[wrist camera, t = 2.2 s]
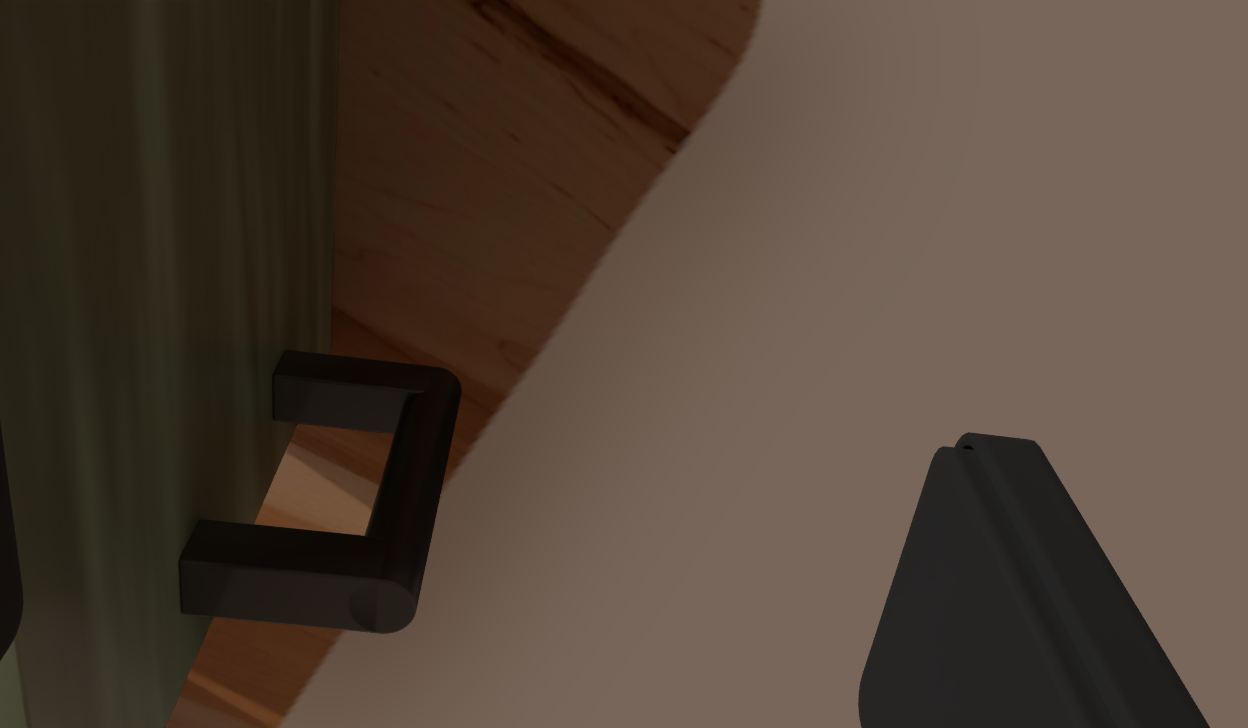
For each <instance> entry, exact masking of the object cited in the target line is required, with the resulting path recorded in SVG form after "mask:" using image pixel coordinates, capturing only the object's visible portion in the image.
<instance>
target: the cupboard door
mask: <svg viewBox="0 0 1248 728" xmlns="http://www.w3.org/2000/svg"><path fill="white" fill-rule="evenodd" d="M338 26H339V0H0V422H1V429H2V437H3V444H4V452H5V460H6V467H7V475H8V482H9V490H10V497H11V505H12V512H13V520H14V527H15V535H16V543H17V550H18V558H19V565H20V573H21V580H22V588H23V600H24V604H23V613H22V618H21V622H20V626H19V629H18V631H17V634H16V636H15V638H14V640H13V642H12V644H11V645H10V647H9V649H8V650H7V652H6V653H5V655H4V656H3V658H2V660H1V661H0V728H165V727H166V725H167V723H168V720H169V718H170V716H171V713H172V711H173V709H174V706H175V704H176V702H177V700H178V697H179V695H180V693H181V690H182V688H183V686H184V683H185V681H186V679H187V677H188V674H189V672H190V670H191V667H192V665H193V663H194V660H195V658H196V656H197V654H198V651H199V649H200V647H201V644H202V642H203V640H204V637H205V635H206V633H207V630H208V628H209V626H210V624H211V621H212V619H213V617H215V618H225V619H236V620H246V621H256V622H267V623H277V624H287V625H298V626H308V627H319V628H329V629H339V630H350V631H360V632H371V633H379V634H388V633H393V632H397V631H399V630H402V629H403V628H405V627H406V626H407V625H408V624H409V623H410V622H411V621H412V620H413V618H414V616H415V613H416V609H417V604H418V599H419V594H420V590H421V585H422V580H423V575H424V570H425V566H426V561H427V556H428V552H429V547H430V542H431V537H432V532H433V528H434V523H435V518H436V513H437V509H438V504H439V499H440V494H441V490H442V485H443V480H444V475H445V470H446V466H447V461H448V456H449V451H450V447H451V442H452V437H453V432H454V427H455V423H456V418H457V413H458V408H459V404H460V399H461V394H462V389H461V384H460V382H459V380H458V379H457V377H456V376H455V375H454V374H453V373H452V372H450V371H449V370H447V369H444V368H441V367H434V366H425V365H416V364H407V363H399V362H390V361H381V360H373V359H364V358H356V357H347V356H338V355H330V354H328V352H329V350H330V347H331V309H332V268H333V228H334V188H335V147H336V107H337V67H338ZM297 423H298V424H307V425H316V426H325V427H334V428H343V429H352V430H361V431H370V432H379V433H388V434H394V437H393V441H392V444H391V447H390V451H389V454H388V458H387V461H386V465H385V468H384V471H383V475H382V478H381V482H380V485H379V489H378V492H377V495H376V499H375V502H374V506H373V509H372V513H371V516H370V519H369V523H368V526H367V530H366V533H365V536H361V535H351V534H342V533H332V532H322V531H313V530H303V529H293V528H283V527H274V526H264V525H254V522H255V520H256V518H257V515H258V513H259V511H260V508H261V506H262V504H263V502H264V499H265V497H266V495H267V492H268V490H269V488H270V485H271V483H272V481H273V479H274V476H275V474H276V472H277V469H278V467H279V465H280V462H281V460H282V458H283V456H284V453H285V451H286V449H287V446H288V444H289V442H290V439H291V437H292V435H293V433H294V430H295V428H296V426H297Z"/></svg>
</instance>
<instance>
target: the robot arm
mask: <svg viewBox="0 0 1248 728" xmlns="http://www.w3.org/2000/svg"><path fill="white" fill-rule="evenodd" d="M23 604H24V600H23V588H22V580H21V573H20V565H19V558H18V550H17V543H16V535H15V527H14V520H13V512H12V505H11V497H10V490H9V482H8V475H7V467H6V460H5V452H4V444H3V437H2V429H1V422H0V661H1V660H2V658H3V656H4V655H5V653H6V652H7V650H8V649H9V647H10V645H11V644H12V642H13V640H14V638H15V636H16V634H17V631H18V629H19V626H20V622H21V618H22V613H23ZM858 705H859V717H860V722H861V727H862V728H1210V727H1209V725H1208V723H1207V722H1206V720H1205V718H1204V717H1203V715H1202V714H1201V712H1200V710H1199V709H1198V707H1197V705H1196V704H1195V702H1194V701H1193V699H1192V697H1191V695H1190V694H1189V692H1188V690H1187V689H1186V687H1185V685H1184V684H1183V682H1182V681H1181V679H1180V677H1179V676H1178V674H1177V672H1176V671H1175V669H1174V667H1173V666H1172V664H1171V662H1170V661H1169V659H1168V657H1167V656H1166V654H1165V652H1164V651H1163V649H1162V647H1161V646H1160V644H1159V643H1158V641H1157V639H1156V638H1155V636H1154V634H1153V633H1152V631H1151V629H1150V628H1149V626H1148V624H1147V623H1146V621H1145V619H1144V618H1143V616H1142V614H1141V613H1140V611H1139V609H1138V608H1137V606H1136V605H1135V603H1134V601H1133V600H1132V598H1131V596H1130V595H1129V593H1128V591H1127V590H1126V588H1125V587H1124V585H1123V583H1122V582H1121V580H1120V578H1119V576H1118V575H1117V573H1116V572H1115V570H1114V568H1113V567H1112V565H1111V563H1110V562H1109V560H1108V558H1107V557H1106V555H1105V553H1104V552H1103V550H1102V549H1101V547H1100V545H1099V543H1098V542H1097V540H1096V538H1095V537H1094V535H1093V534H1092V532H1091V530H1090V529H1089V527H1088V525H1087V524H1086V522H1085V520H1084V519H1083V517H1082V515H1081V514H1080V512H1079V510H1078V509H1077V507H1076V505H1075V504H1074V503H1073V501H1072V499H1071V497H1070V496H1069V494H1068V492H1067V491H1066V489H1065V487H1064V486H1063V484H1062V482H1061V481H1060V479H1059V477H1058V476H1057V474H1056V472H1055V471H1054V469H1053V468H1052V466H1051V464H1050V463H1049V461H1048V459H1047V458H1046V456H1045V454H1044V453H1043V451H1042V449H1041V448H1040V447H1039V445H1037V443H1036V442H1035V441H1032V440H1028V439H1020V438H1011V437H1003V436H994V435H985V434H977V433H966V434H964V435H962V436H961V438H960V439H959V440H958V442H957V443H956V445H955V448H953V447H944V446H943V447H941V448H939V449H938V451H937V452H936V453H935V455H934V457H933V459H932V462H931V465H930V468H929V471H928V474H927V477H926V480H925V483H924V486H923V489H922V492H921V496H920V499H919V502H918V505H917V508H916V511H915V514H914V517H913V520H912V523H911V526H910V529H909V533H908V536H907V539H906V542H905V545H904V548H903V551H902V554H901V557H900V560H899V563H898V566H897V570H896V573H895V576H894V579H893V582H892V585H891V588H890V591H889V594H888V597H887V600H886V604H885V607H884V610H883V613H882V616H881V619H880V622H879V625H878V628H877V632H876V634H875V638H874V641H873V644H872V647H871V650H870V653H869V656H868V659H867V662H866V665H865V668H864V671H863V674H862V678H861V682H860V689H859V704H858Z"/></svg>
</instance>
